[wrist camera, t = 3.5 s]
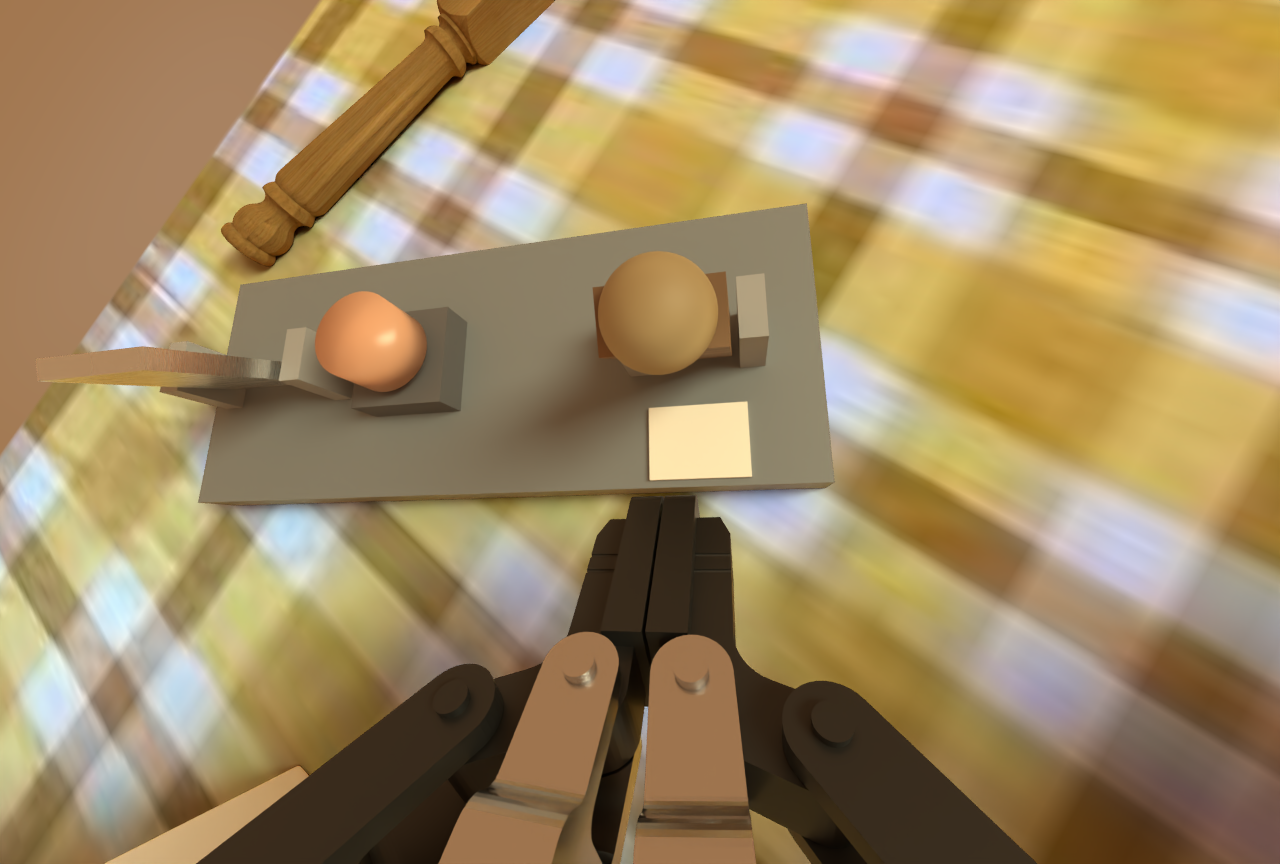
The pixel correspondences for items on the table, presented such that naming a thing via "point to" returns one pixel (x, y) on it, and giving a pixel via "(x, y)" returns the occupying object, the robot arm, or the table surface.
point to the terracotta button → (370, 342)
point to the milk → (212, 825)
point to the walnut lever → (662, 314)
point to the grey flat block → (160, 369)
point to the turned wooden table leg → (376, 122)
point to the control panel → (531, 380)
